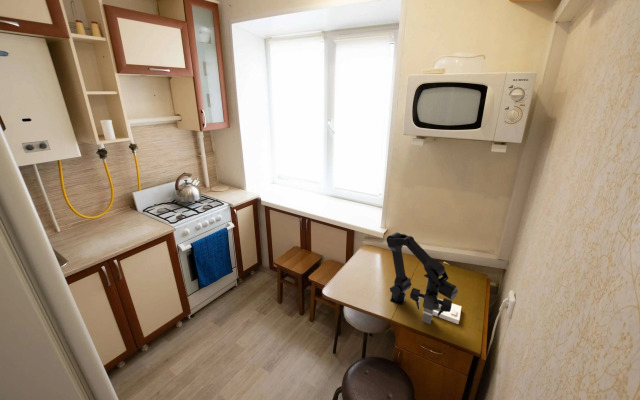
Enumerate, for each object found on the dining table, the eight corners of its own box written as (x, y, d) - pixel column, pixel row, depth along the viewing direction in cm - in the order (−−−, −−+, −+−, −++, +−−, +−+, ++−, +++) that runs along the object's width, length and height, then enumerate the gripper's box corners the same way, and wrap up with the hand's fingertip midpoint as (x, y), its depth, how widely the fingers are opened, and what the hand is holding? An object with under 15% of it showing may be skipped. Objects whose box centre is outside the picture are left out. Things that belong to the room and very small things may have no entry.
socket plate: (428, 313, 143) (429, 308, 142) (432, 300, 152) (433, 295, 151) (458, 324, 137) (459, 319, 136) (460, 310, 146) (461, 305, 144)
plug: (421, 321, 139) (424, 308, 136) (423, 315, 142) (425, 303, 139) (430, 324, 137) (432, 312, 134) (431, 318, 140) (434, 306, 137)
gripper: (408, 290, 130) (405, 315, 136) (452, 305, 121) (445, 331, 127) (414, 277, 139) (410, 301, 145) (454, 290, 130) (449, 315, 136)
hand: (428, 312), depth 138 cm, fingers open, 9 cm apart
